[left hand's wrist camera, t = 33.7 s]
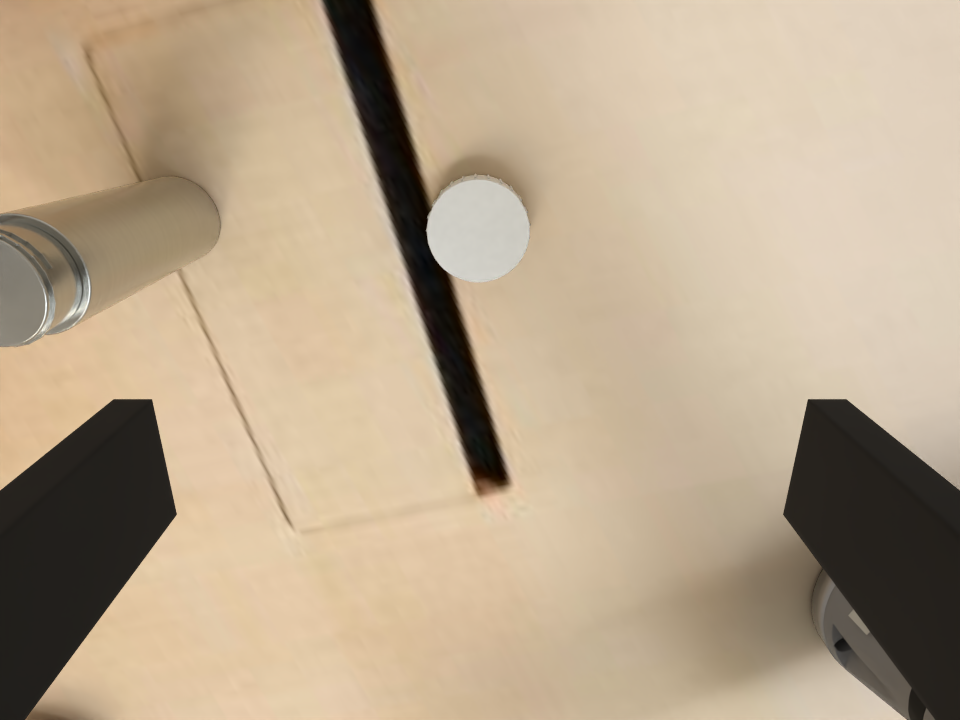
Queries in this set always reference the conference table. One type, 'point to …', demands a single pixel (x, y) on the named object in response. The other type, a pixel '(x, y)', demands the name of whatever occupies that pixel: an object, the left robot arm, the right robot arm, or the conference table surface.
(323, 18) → the conference table surface
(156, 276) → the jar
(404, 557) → the conference table surface
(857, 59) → the conference table surface
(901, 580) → the left robot arm
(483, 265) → the lid
